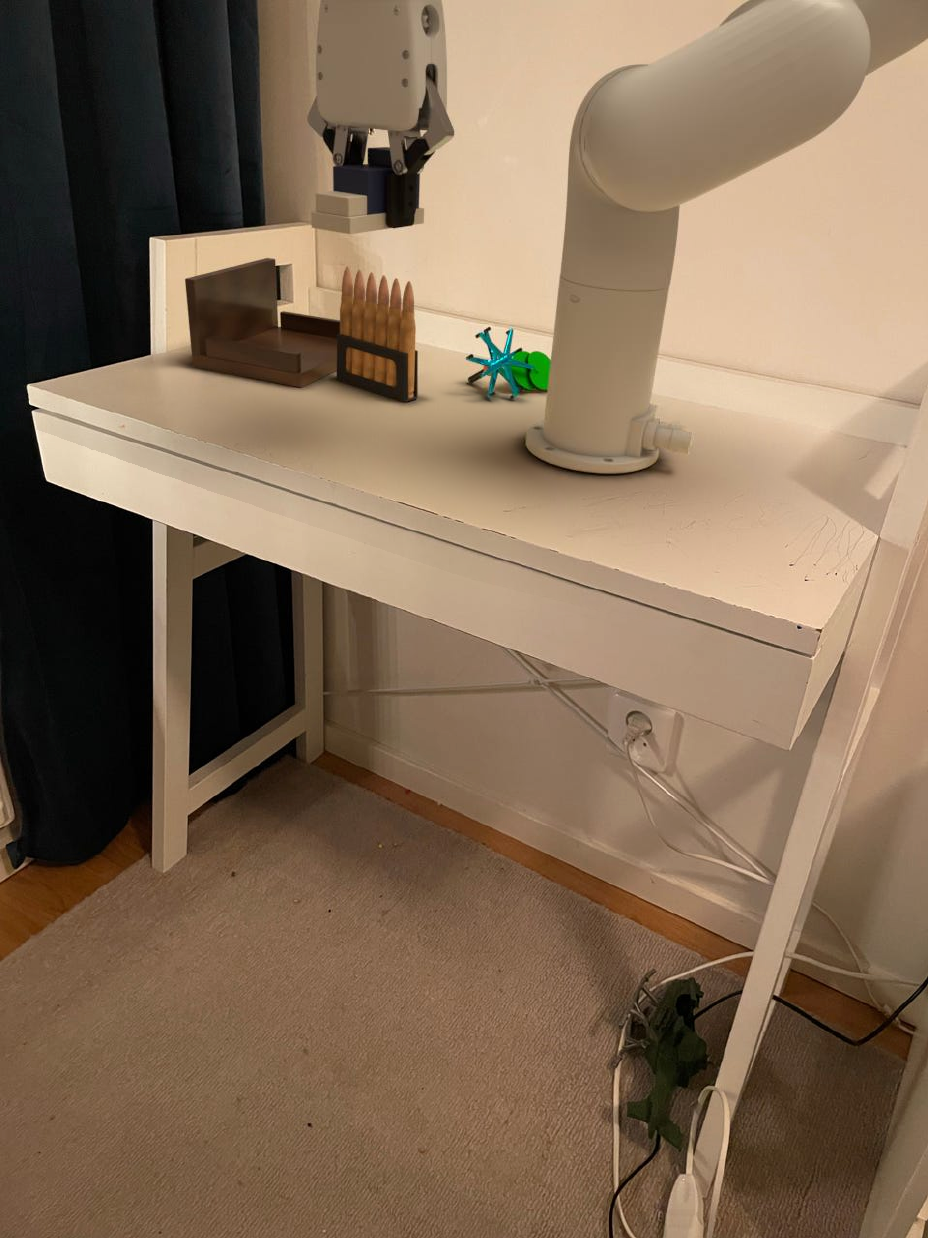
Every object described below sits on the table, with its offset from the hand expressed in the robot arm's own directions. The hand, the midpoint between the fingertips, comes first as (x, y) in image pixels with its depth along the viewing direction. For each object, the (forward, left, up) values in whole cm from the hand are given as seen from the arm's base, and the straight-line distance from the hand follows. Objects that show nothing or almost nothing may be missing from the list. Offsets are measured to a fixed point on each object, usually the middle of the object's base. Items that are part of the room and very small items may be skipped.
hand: (377, 220), depth 78 cm
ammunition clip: (+7, -14, -19) cm, 25 cm away
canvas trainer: (0, +1, 0) cm, 1 cm away
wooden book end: (+21, -18, -19) cm, 34 cm away
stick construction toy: (-5, -22, -19) cm, 30 cm away
